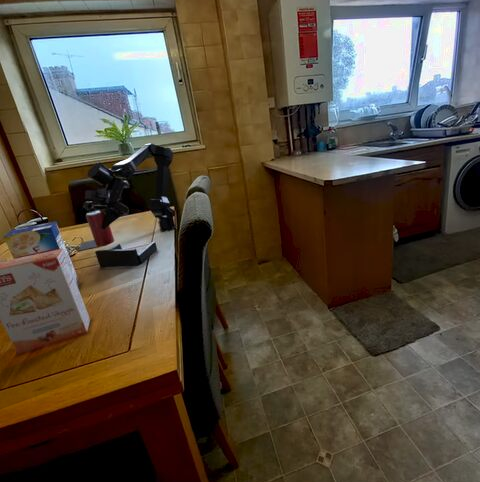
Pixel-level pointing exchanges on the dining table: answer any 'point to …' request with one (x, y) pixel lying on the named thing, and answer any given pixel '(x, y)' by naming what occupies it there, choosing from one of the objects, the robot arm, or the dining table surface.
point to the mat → (88, 245)
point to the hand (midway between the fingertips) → (96, 228)
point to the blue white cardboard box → (37, 242)
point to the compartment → (124, 256)
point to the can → (99, 228)
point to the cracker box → (40, 301)
